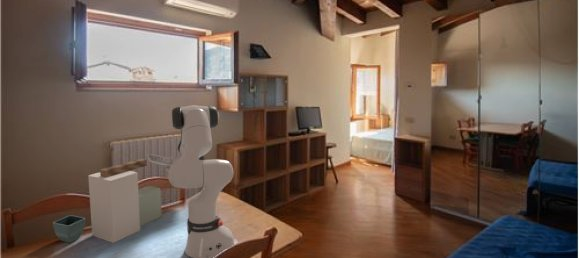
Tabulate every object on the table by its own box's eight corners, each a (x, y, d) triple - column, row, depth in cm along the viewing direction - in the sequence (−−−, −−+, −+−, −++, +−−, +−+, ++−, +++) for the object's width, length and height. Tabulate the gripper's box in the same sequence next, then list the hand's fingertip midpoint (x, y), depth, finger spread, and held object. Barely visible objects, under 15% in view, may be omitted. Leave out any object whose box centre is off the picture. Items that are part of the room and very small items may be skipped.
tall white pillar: (119, 223, 172) (116, 167, 167) (139, 230, 166) (137, 172, 161) (92, 235, 160) (88, 175, 155) (113, 242, 154) (110, 180, 149)
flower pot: (87, 236, 158) (85, 217, 157) (70, 245, 150) (68, 225, 149) (71, 233, 161) (69, 214, 159) (53, 242, 152) (52, 222, 151)
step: (149, 213, 185) (148, 185, 182) (161, 216, 182) (160, 188, 179) (125, 224, 172) (124, 194, 169) (137, 227, 168) (135, 197, 166)
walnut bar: (141, 164, 174) (141, 158, 173) (146, 165, 172) (146, 159, 172) (100, 176, 154) (100, 169, 154) (105, 177, 153) (105, 170, 152)
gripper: (161, 156, 196) (143, 148, 184) (189, 162, 187) (172, 154, 176) (156, 167, 195) (138, 159, 183) (185, 173, 186) (168, 166, 174)
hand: (155, 157), depth 179 cm, fingers open, 8 cm apart
